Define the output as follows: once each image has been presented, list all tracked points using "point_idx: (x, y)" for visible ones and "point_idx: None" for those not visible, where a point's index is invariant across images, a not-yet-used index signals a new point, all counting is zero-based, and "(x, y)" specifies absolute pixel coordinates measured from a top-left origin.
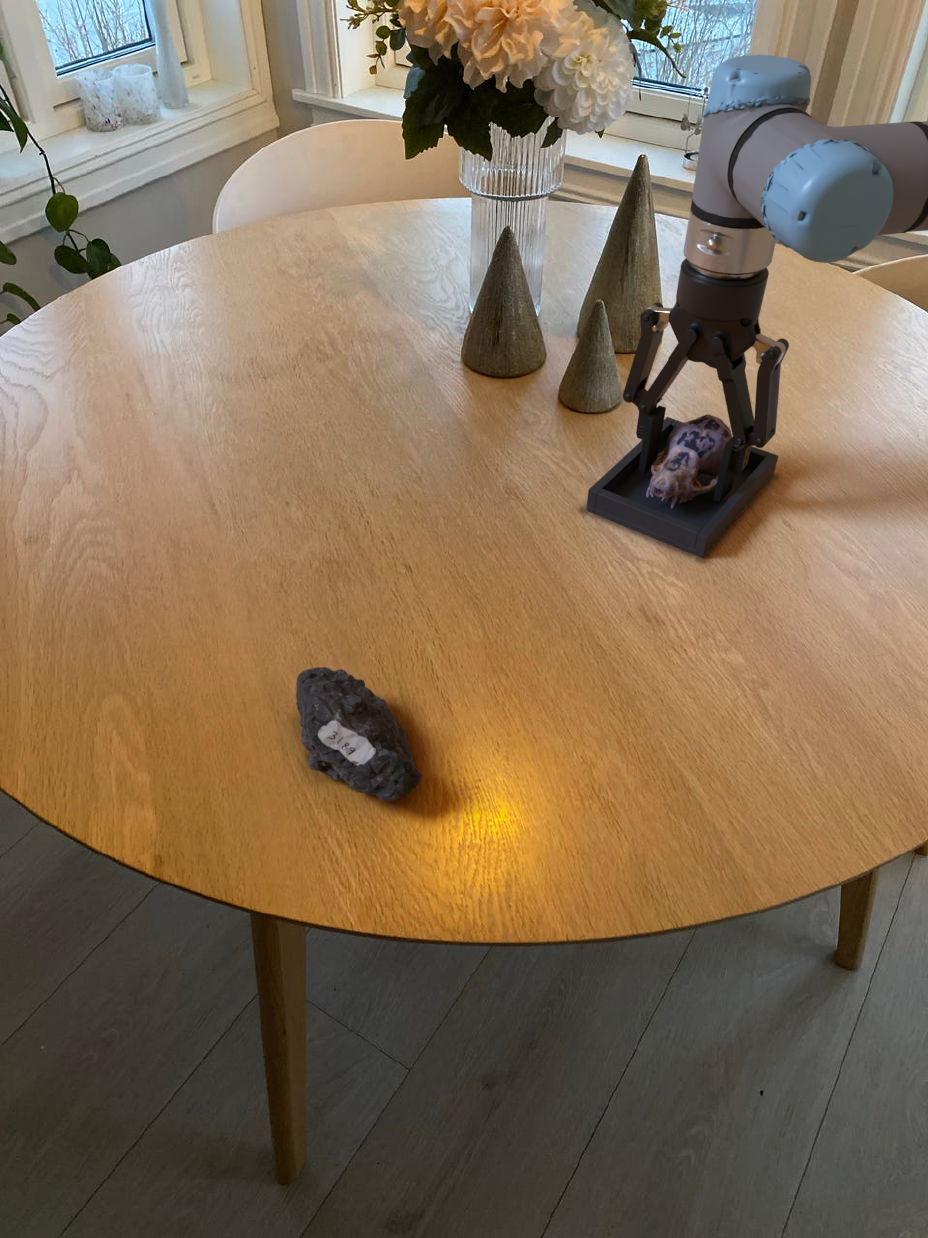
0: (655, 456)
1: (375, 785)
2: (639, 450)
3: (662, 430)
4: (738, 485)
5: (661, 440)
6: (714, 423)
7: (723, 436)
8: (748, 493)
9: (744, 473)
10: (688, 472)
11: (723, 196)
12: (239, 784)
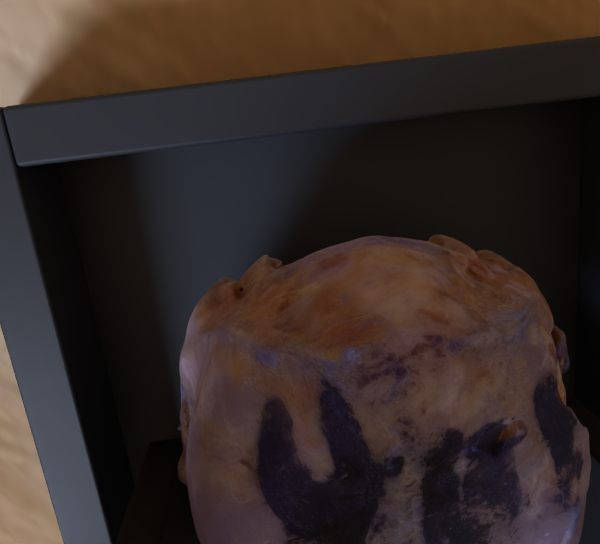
0: (183, 490)
1: None
2: (91, 504)
3: (38, 275)
4: (534, 269)
5: (67, 258)
6: (469, 464)
7: (570, 488)
8: None
9: (516, 165)
10: None
11: None
12: None
